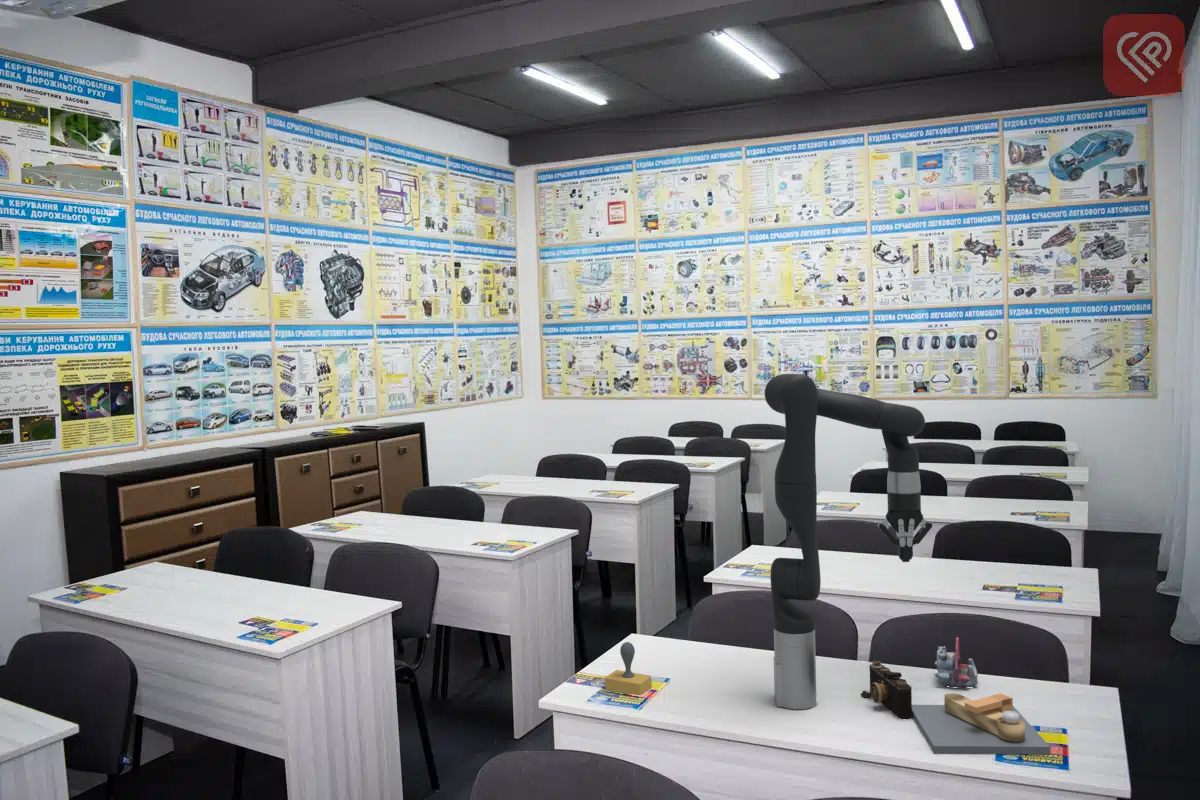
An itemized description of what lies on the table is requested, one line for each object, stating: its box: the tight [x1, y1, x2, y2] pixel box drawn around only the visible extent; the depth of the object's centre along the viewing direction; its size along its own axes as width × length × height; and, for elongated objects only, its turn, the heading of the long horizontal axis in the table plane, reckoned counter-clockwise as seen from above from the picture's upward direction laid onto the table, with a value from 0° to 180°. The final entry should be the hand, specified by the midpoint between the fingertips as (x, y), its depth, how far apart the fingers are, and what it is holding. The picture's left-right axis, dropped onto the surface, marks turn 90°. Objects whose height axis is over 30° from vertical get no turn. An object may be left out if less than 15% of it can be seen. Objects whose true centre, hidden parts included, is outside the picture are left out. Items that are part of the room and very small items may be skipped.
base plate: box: [912, 704, 1051, 755], centre depth 188 cm, size 22×21×6 cm
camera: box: [860, 659, 913, 720], centre depth 204 cm, size 16×7×8 cm, turn 8°
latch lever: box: [943, 692, 1025, 742], centre depth 188 cm, size 20×5×3 cm, turn 24°
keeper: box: [965, 692, 1014, 713], centre depth 187 cm, size 10×3×6 cm, turn 115°
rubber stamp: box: [604, 641, 653, 695], centre depth 218 cm, size 10×6×12 cm, turn 60°
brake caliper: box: [934, 636, 978, 688], centre depth 216 cm, size 11×11×12 cm
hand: (905, 561), depth 217 cm, fingers closed
